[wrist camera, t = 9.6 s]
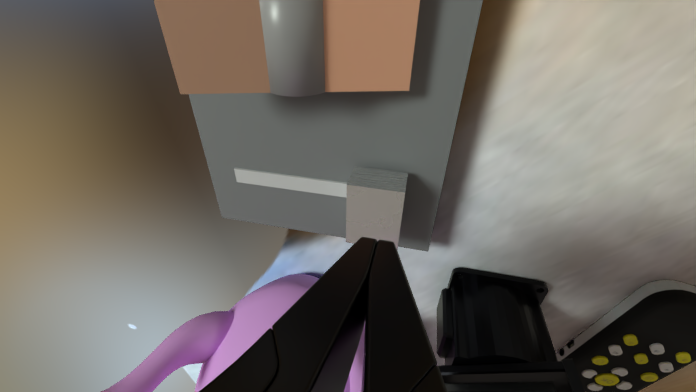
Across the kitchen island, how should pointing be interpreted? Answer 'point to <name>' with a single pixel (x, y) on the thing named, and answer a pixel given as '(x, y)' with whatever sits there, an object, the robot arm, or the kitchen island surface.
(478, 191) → the kitchen island surface
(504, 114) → the kitchen island surface
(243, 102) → the panel
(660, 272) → the kitchen island surface
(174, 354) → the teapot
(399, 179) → the small grey block
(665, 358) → the remote control
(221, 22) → the rocker
